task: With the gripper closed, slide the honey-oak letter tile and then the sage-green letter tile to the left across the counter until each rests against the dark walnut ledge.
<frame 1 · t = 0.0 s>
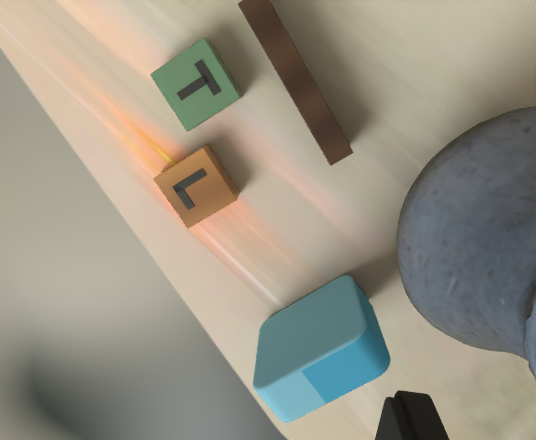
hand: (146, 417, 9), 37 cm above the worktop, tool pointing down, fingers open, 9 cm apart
blue rounded slab: (314, 310, 49), on the worktop
walnut ledge: (297, 81, 41), on the worktop
oak letter tile: (200, 183, 45), on the worktop
pitcher: (482, 201, 44), on the worktop
sage letter tile: (200, 85, 42), on the worktop
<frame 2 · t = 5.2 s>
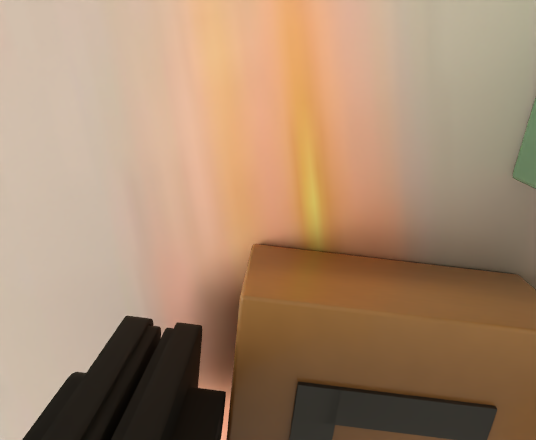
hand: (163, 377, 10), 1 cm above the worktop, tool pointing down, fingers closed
oak letter tile: (362, 368, 11), on the worktop, touching gripper
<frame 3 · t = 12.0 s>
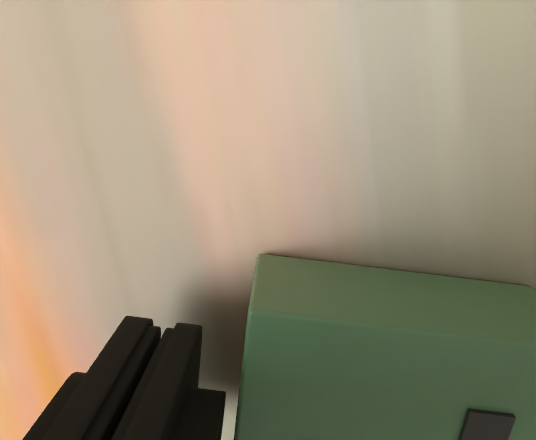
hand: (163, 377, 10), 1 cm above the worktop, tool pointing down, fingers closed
sage letter tile: (368, 381, 10), on the worktop, touching gripper
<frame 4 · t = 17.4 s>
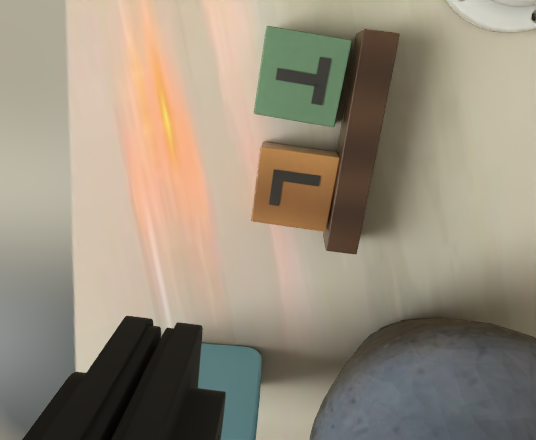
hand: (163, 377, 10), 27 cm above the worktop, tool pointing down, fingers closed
blue rounded slab: (200, 360, 42), on the worktop
walnut ledge: (353, 143, 35), on the worktop
oak letter tile: (294, 182, 36), on the worktop
pitcher: (422, 366, 41), on the worktop
sage letter tile: (300, 77, 33), on the worktop
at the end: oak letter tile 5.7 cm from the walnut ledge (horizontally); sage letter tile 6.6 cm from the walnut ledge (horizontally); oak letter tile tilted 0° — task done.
